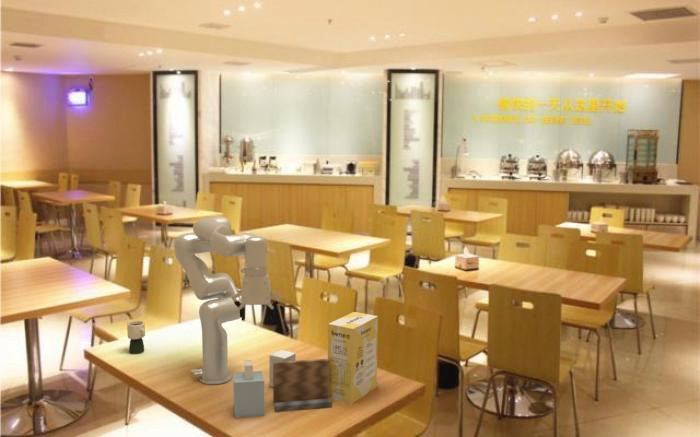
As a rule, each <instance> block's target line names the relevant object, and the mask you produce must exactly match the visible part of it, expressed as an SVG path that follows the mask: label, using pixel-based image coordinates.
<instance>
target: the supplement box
mask: <svg viewBox="0 0 700 437" xmlns="http://www.w3.org/2000/svg"><path fill="white" fill-rule="evenodd" d="M296 359H297V358H296V352H292V351H288V350H284V349H280V350H278V351H275V352H273V353H271V354H269V384H268V385H269V387H271V388H273V362H285V361H296Z"/></svg>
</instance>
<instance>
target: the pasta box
mask: <svg viewBox="0 0 700 437" xmlns="http://www.w3.org/2000/svg"><path fill="white" fill-rule="evenodd" d="M378 325H379V316H378V315H374V314H368V313H364V312H356V311H353V312H350V313H348V314H347V315H344V316H342V317H340V318H337V319H336V320H334V321H332V322H330V323H328V325H327V326H328V327H327V333H328V334H327V359H329V398H331V400H332V399H333V400H335V401H338V402H342V403H347V404H350V405H353V404H354V403H356V402H357V401H358V400H360V399H362V398H363V397H365V395H367V394H369V393H370V392H371V391H373V390H374V389H376V388H377V382H378V381H377V376H378V375H377V373H378V338H379V337H378V336H379V335H378V332H379V330H378V328H379V326H378Z"/></svg>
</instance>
